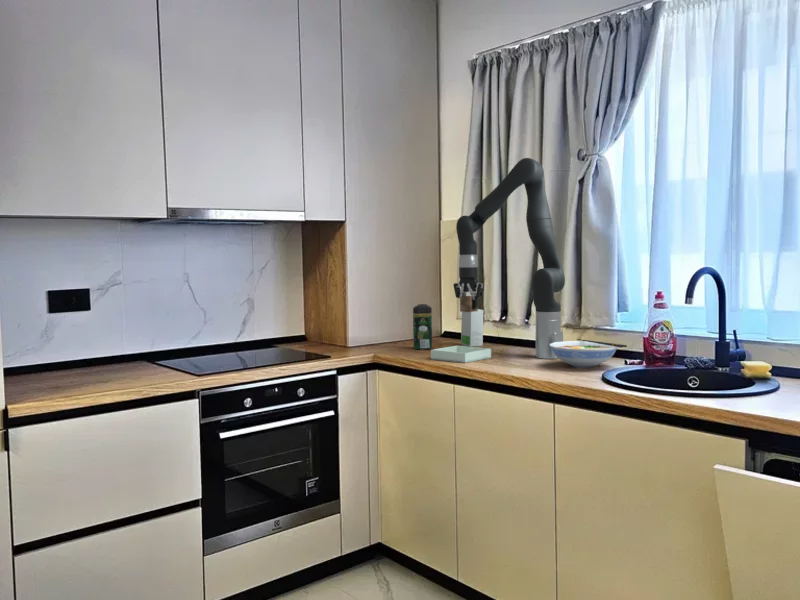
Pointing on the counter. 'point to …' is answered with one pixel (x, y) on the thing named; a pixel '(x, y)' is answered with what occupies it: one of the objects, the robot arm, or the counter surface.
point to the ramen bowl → (584, 352)
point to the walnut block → (466, 304)
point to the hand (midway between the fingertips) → (468, 308)
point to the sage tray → (461, 354)
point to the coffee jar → (422, 327)
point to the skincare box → (472, 328)
